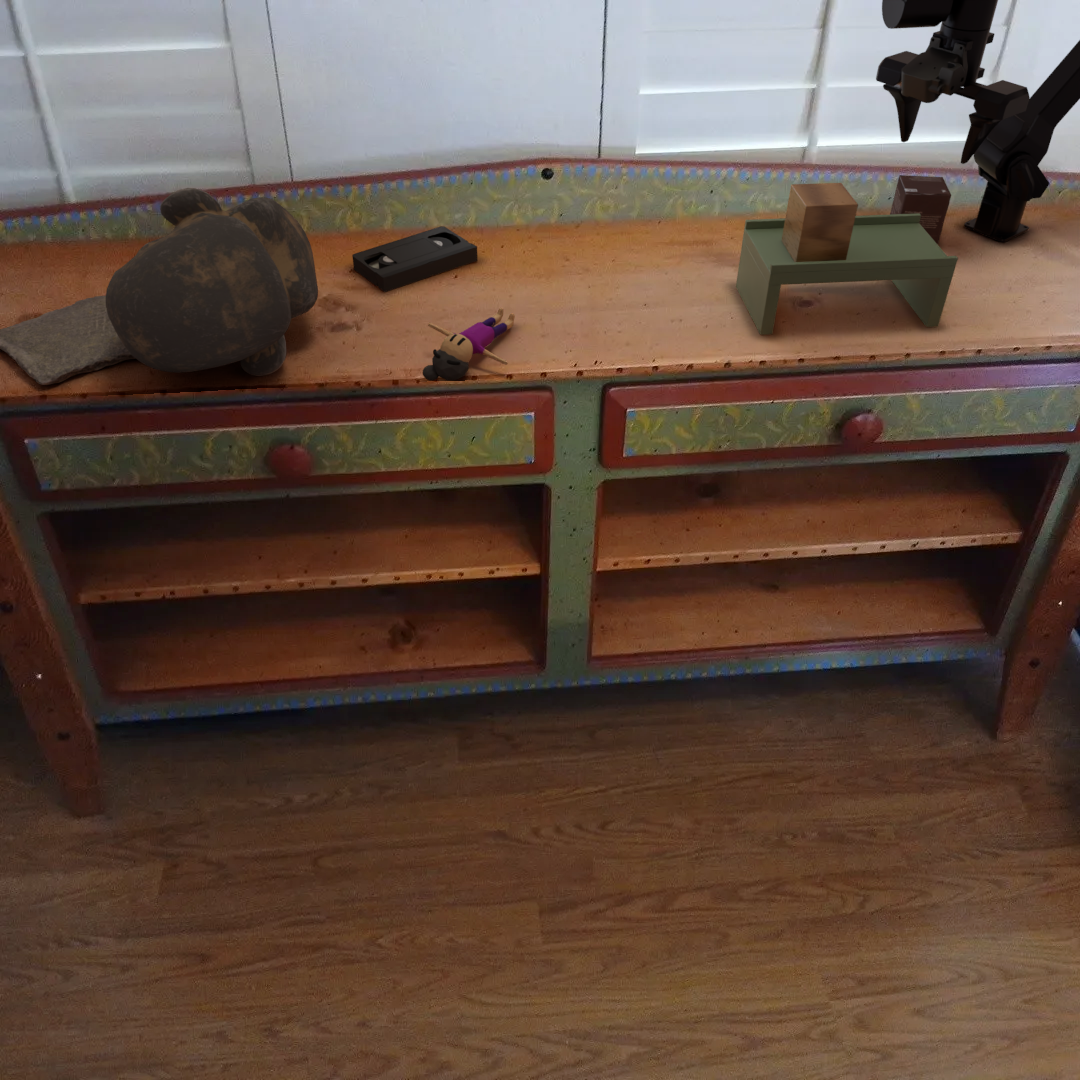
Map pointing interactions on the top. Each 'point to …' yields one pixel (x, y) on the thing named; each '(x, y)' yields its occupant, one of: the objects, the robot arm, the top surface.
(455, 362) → the toy
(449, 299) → the top surface
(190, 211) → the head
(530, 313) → the top surface
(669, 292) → the top surface
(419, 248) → the vhs tape
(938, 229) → the box
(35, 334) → the stone
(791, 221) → the wooden block
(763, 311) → the shelf
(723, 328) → the top surface
